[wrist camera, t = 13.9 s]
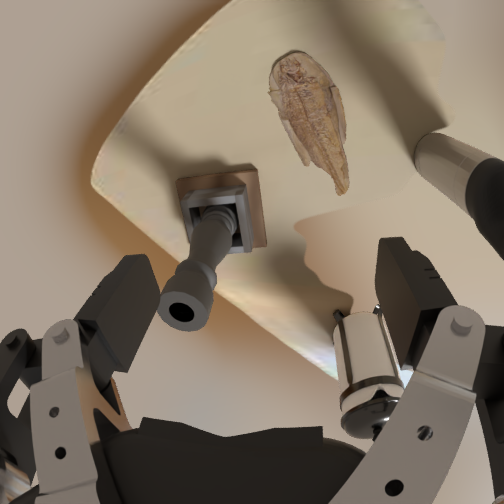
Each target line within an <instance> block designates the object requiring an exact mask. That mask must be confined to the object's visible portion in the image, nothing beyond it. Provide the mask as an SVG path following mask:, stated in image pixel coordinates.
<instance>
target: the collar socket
mask: <svg viewBox="0 0 504 504" xmlns="http://www.w3.org/2000/svg"><path fill="white" fill-rule="evenodd" d="M176 186H177V191H178V195H179V199H180V205H181V209H182V213H183V217H184V221H185V225H186V229H187V233H188V237H189V241H190V242H191V235H192V232H193V230H194V228H195V227H196V226H197V225H198V224H199V223H200V222H201V217H202V215H203V212H204V210H205V209H206V207H207V206H209V205H219V204H229V203H235V204H236V207H237V213H238V219H239V224H238V227H237V229H236V231H235V233H234V234H233V235H232V246H231V249H230V250H229V252H228V254H233V253H248V252H252V248H256V247H266V246H267V240H266V232H265V224H264V216H263V208H262V200H261V193H260V185H259V177H258V170H257V169H254V170H244V171H235V172H227V173H219V174H211V175H203V176H196V177H189V178H182V179H178V180H177V181H176Z"/></svg>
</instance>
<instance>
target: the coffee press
mask: <svg viewBox="0 0 504 504" xmlns="http://www.w3.org/2000/svg"><path fill="white" fill-rule="evenodd" d="M377 313H378V315H377ZM382 313H383V312H382V309H381V306H380V305H379V304H378V305H376V306H375V309H374V311H373V313H370V312H358V313H354V314H351V315H349V316H347V317H345V316H344V315H343V314H342V312H341V311H340V310H337V311H336V312H335V313H333V316H334V317H335V319H336V321H337V322H338V324H337V326H336V327H335V330H334V333H333V340H334V342H333V344H334V347H335V355H336V363H337V371H338V379H339V388H340V409H341V411H342V418H341V427H342V428H343V429H344V430H345V431H346V433H347V434H349V435H350V436H352V437H354V438H359V439H372V438H373V439H372V440H373V441H374V442H375V440H376V439H377V437H378V435H379V434H380V432H381V431H382V429H383V427H384V426H385V424H386V422H387V421H388V419H389V417H390V416H391V414H392V412H393V410H394V409H395V407H396V405H397V403H398V401H399V400H400V398H401V396H402V394H403V392H404V390H405V389H404V385H403V382H402V381H401V378H400V375H399V371H398V367H397V364H396V360H395V357H394V354H393V350H392V347H391V344H390V341H389V337H388V334H387V331H386V328H385V325H384V323H383V321H382Z"/></svg>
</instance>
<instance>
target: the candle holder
mask: <svg viewBox="0 0 504 504" xmlns="http://www.w3.org/2000/svg"><path fill="white" fill-rule="evenodd" d="M238 224H239V219H238V213H237V207H236V204H235V203H229V204H219V205H209V206H207V207H206V209H205V210H204V212H203V215H202V217H201V222H200V223H199V224H198V225H197V226H196V227H195V228H194V230H193V232H192V235H191V242H190V253H189V257H188V259H187V260H184V261H182V262H181V263H180V264H179V265H178V266H177V268H176V271H175V275H174V276H172V277H171V278H170V279H169V280H168V281H167V283H166V285H165V287H164V289H163V290H162V292H161V294H160V304H159V306H158V308H157V312H158V314H159V316H161V318H162V320H163V321H164V322H166V323H167V324H168V325H169V326H171V327H173V328H176V329H178V330H181V331H188V332H189V331H196V330H199V329H201V328H202V327H204V326H205V324H206V322H207V320H208V317H209V314H210V311H211V307H212V304H213V292H212V291H213V290H214V288H215V286H216V284H217V275H216V273H215V269H216V266H217V265H218V264H219V263H220V262H221V261H222V259H223V258H224V257H225V256H226V255H227V254H228V252H229V250H230V249H231V246H232V235H233V234H234V233H235V231H236V229H237V227H238Z"/></svg>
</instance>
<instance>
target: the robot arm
mask: <svg viewBox="0 0 504 504" xmlns="http://www.w3.org/2000/svg"><path fill="white" fill-rule="evenodd" d="M414 160H415V166H416V169H417V171H418V173H419V174H420V175H421V176H422V177H423V178H424V179H425V180H427V181H428V182H429V183H431V184H432V185H433V186H434V187H436V188H437V189H438V190H439V191H441V192H442V193H443V194H444V195H446V196H447V197H448V198H449V199H450V200H452V201H453V202H454V203H455V204H456V205H458V206H459V207H460V208H461V209H462V210H464V211H465V212H466V213H467V214H468V215H469V216H470V217H471V218H473V219H474V221H475V224H476V226H477V228H478V230H479V231H480V233H481V234H482V235H483V236H484V238H485V239H486V240H487V241H488V242H489V243H490V245H491V246H492V247H493V248H494V249H495V251H496V252H497V253H498V254H499V256H500V257H501V258H502V259H503V260H504V161H502V160H500V159H498V158H496V157H494V156H492V155H490V154H488V153H485V152H483V151H481V150H479V149H477V148H474V147H472V146H470V145H468V144H465V143H463V142H461V141H458V140H456V139H454V138H451V137H449V136H446V135H444V134H441V133H430V134H428V135H426V136H424V137H423V138H422V139H421V140H420V141H419V143H418V145H417V147H416V150H415V155H414ZM375 290H376V295H377V298H378V300H379V304H380V306H381V309H382V312H383V315H384V318H385V321H386V324H387V327H388V330H389V333H390V336H391V339H392V342H393V345H394V348H395V352H396V355H397V359H398V362H399V365H400V369H401V370H407V369H412V368H413V370H414V372H413V374H412V376H411V378H410V380H409V382H408V384H407V386H406V388H405V390H404V392H403V394H402V396H401V398H400V400H399V401H398V403H397V405H396V407H395V409H394V410H393V412H392V414H391V416H390V417H389V419H388V421H387V422H386V424H385V426H384V427H383V429H382V431H381V432H380V434H379V435H378V437H377V439H376V440H375V442H374V443H373V445H372V446H371V448H370V449H369V451H368V452H367V453H365V452H364V451H362V450H360V449H358V448H356V447H354V446H353V445H350V444H347V443H345V442H341V441H338V440H334V439H329V438H323V429H322V426H318V427H317V426H316V427H298V428H272V429H268V430H263V431H258V432H253V433H248V434H243V435H237V436H231V437H222V436H218V435H215V434H212V433H209V432H206V431H203V430H200V429H197V428H194V427H192V426H189V425H186V424H184V423H180V422H173V421H165V420H159V419H152V418H146V417H143V418H142V421H141V424H140V427H139V428H136V429H132V427H131V426H130V424H129V422H128V419H127V417H126V414H125V411H124V408H123V405H122V402H121V399H120V396H119V393H118V390H117V386H116V383H115V380H114V379H113V378H112V374H113V372H114V371H118V372H125V373H127V372H128V370H129V368H130V366H131V364H132V361H133V359H134V357H135V355H136V353H137V350H138V348H139V346H140V344H141V342H142V340H143V338H144V335H145V333H146V331H147V329H148V327H149V325H150V323H151V321H152V319H153V317H154V315H155V313H156V310H157V308H158V306H159V304H160V290H159V287H158V284H157V281H156V279H155V276H154V273H153V270H152V267H151V264H150V261H149V259H148V257H147V256H146V255H145V254H136V255H126V256H124V257H123V259H122V260H121V261H120V262H119V264H118V265H117V266H116V267H115V269H114V270H113V271H112V272H110V273H109V274H108V275H107V276H105V277H104V278H103V280H102V281H101V282H100V283H99V285H98V286H97V288H96V289H95V290H94V291H93V293H92V296H90V297H89V298H88V300H87V301H86V302H85V304H84V305H83V307H82V308H81V309H80V311H79V312H78V313H77V315H76V316H75V318H74V319H73V320H71V319H66V320H62V321H59V322H57V323H56V324H54V325H53V326H51V327H50V328H49V329H48V330H47V332H46V333H45V335H44V337H43V338H42V339H37V340H32V339H31V337H30V336H29V334H28V333H27V331H26V330H24V329H16V330H14V331H12V332H10V333H9V334H8V335H7V336H6V337H5V338H4V339H3V340H2V342H1V343H0V504H432V502H433V501H434V499H435V497H436V495H437V493H438V491H439V489H440V488H441V485H442V484H443V482H444V480H445V477H446V475H447V473H448V471H449V469H450V467H451V465H452V463H453V460H454V458H455V456H456V453H457V451H458V449H459V446H460V444H461V441H462V438H463V436H464V433H465V430H466V427H467V425H468V422H469V419H470V416H471V413H472V410H473V406H474V403H476V407H477V410H478V414H479V417H480V421H481V425H482V429H483V433H484V438H485V442H486V447H487V451H488V457H489V462H490V468H491V473H492V480H493V487H494V495H495V501H494V502H493V503H492V504H504V327H501V326H491V325H485V324H484V321H483V320H482V318H481V317H480V315H479V314H478V313H476V312H475V311H474V310H472V309H470V308H467V307H465V306H459V305H458V304H457V302H456V301H455V299H454V297H453V296H452V294H451V292H450V291H449V289H448V288H447V286H446V284H445V283H444V281H443V280H442V278H440V275H439V274H438V272H437V271H436V270H435V268H434V266H433V265H432V263H431V262H430V260H429V259H428V258H427V257H426V256H424V255H423V254H421V253H420V252H419V251H412V250H411V249H410V247H409V246H408V244H407V243H406V241H405V240H404V238H403V237H389V238H381V239H380V240H379V245H378V255H377V265H376V274H375ZM19 378H20V379H21V381H22V382H23V383H24V384H25V385H26V386H27V387H28V389H29V390H30V393H29V395H28V397H27V399H26V402H25V403H24V405H23V407H22V410H21V412H20V414H19V416H18V418H16V417H15V416H13V415H12V414H11V413H10V411H9V409H8V406H7V400H8V397H9V395H10V393H11V391H12V390H13V388H14V386H15V384H16V382H17V380H18V379H19ZM36 470H37V476H38V481H39V484H38V485H36V486H35V487H31V484H32V481H33V478H34V475H35V472H36Z"/></svg>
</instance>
